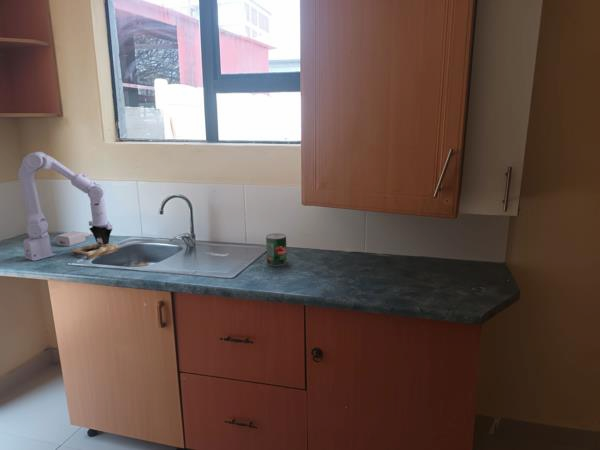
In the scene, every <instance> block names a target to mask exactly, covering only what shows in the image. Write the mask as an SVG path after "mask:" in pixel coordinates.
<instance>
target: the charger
mask: <svg viewBox="0 0 600 450" xmlns="http://www.w3.org/2000/svg"><path fill="white" fill-rule="evenodd" d="M91 234H92V232H91V233H88V232H86V231H83V232H82V231H74V230H73V231H68V232H66V233H65V232H64V233H61V234H58V235H55V236H54V239H55V245H56V246H64V247H72V246H75V245H78V244H83V243H85V242H86V241H87V238H89V237H90V235H91Z"/></svg>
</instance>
